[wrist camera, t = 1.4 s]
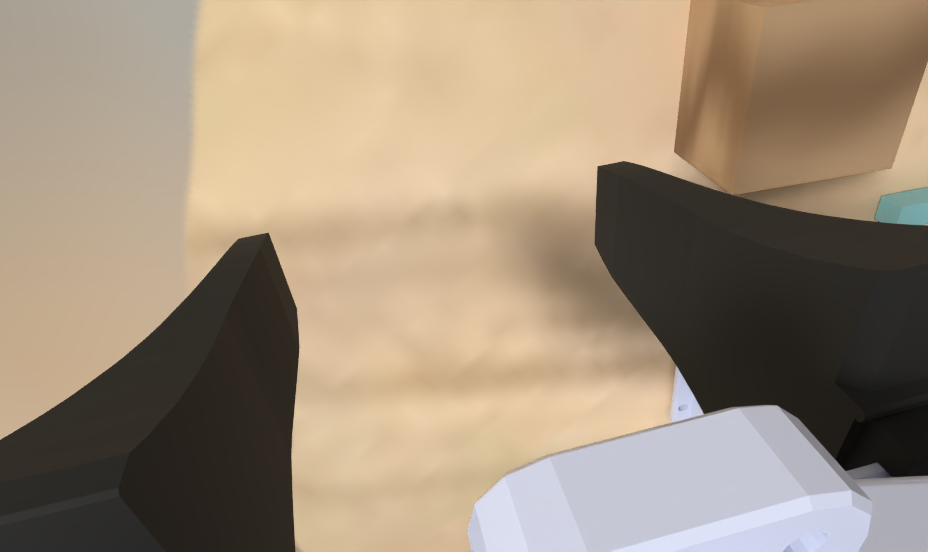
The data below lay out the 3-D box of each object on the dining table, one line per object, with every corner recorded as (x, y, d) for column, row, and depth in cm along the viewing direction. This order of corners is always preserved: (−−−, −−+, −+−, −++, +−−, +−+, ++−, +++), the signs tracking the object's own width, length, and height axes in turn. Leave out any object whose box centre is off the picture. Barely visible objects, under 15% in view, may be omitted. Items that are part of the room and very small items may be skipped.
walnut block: (807, 128, 24) (891, 168, 20) (672, 150, 23) (732, 195, 20) (846, -31, 20) (954, -20, 17) (689, -10, 20) (765, 8, 16)
